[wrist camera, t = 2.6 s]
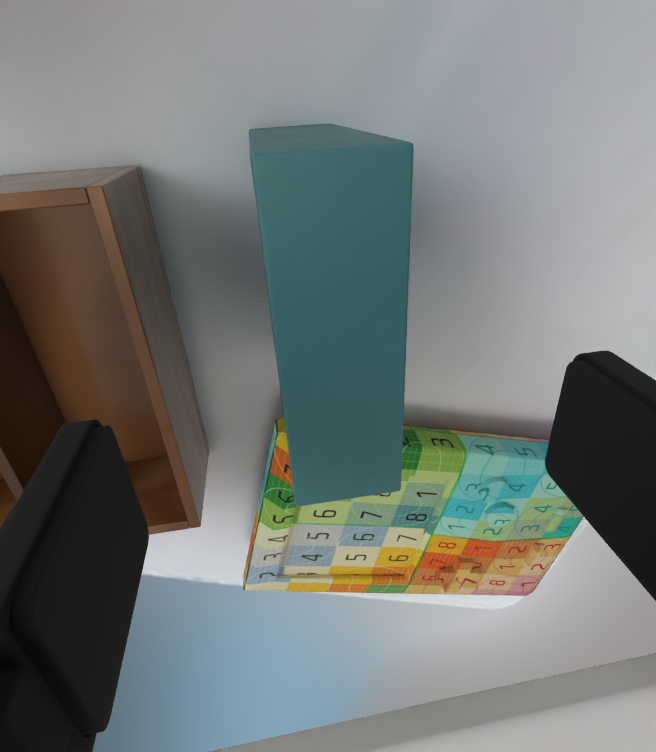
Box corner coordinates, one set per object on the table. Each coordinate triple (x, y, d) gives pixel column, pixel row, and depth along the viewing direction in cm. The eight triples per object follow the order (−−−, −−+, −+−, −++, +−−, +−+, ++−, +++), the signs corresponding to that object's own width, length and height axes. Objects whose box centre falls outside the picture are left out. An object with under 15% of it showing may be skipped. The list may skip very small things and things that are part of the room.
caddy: (139, 164, 19) (102, 185, 14) (209, 450, 26) (200, 527, 22) (-230, 192, 17) (-414, 226, 12) (-43, 485, 25) (-111, 575, 20)
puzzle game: (540, 604, 31) (243, 604, 26) (506, 547, 35) (243, 538, 30) (631, 474, 26) (277, 444, 21) (579, 424, 30) (272, 389, 25)
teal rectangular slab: (331, 123, 19) (415, 142, 9) (341, 341, 24) (401, 493, 15) (248, 129, 18) (250, 154, 9) (276, 349, 24) (296, 509, 14)
